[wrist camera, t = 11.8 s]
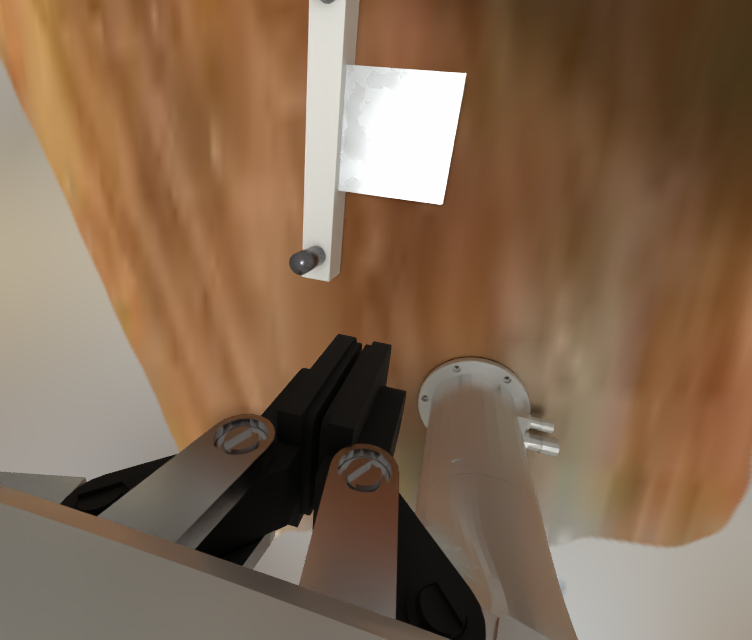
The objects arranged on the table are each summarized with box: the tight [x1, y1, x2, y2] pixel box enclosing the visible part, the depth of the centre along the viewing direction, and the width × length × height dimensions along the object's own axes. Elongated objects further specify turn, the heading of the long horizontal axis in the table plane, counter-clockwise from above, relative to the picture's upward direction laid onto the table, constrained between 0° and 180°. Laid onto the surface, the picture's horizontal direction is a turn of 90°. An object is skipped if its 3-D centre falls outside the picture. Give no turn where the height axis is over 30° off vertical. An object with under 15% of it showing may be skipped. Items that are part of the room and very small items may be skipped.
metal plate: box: [338, 65, 466, 205], centre depth 32 cm, size 10×10×3 cm
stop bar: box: [289, 0, 360, 282], centre depth 31 cm, size 3×26×8 cm, turn 173°
